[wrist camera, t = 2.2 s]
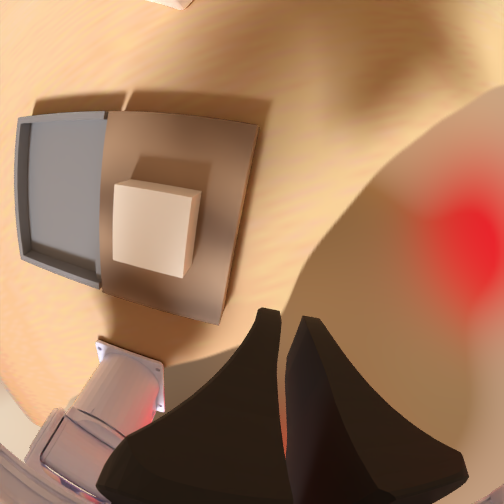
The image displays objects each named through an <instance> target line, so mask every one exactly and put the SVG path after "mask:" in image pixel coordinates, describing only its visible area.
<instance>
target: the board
mask: <svg viewBox="0 0 504 504" xmlns="http://www.w3.org/2000/svg"><path fill="white" fill-rule="evenodd" d="M258 132H259V126H258V125H254V124H248V123H242V122H237V121H230V120H224V119H217V118H209V117H201V116H193V115H183V114H172V113H158V112H139V111H109V113H108V119H107V126H106V133H105V140H104V149H103V158H102V170H101V184H100V209H99V241H100V265H101V280H102V292H103V293H106V294H109V295H112V296H115V297H118V298H121V299H125V300H128V301H131V302H134V303H137V304H141V305H144V306H147V307H151V308H154V309H158V310H161V311H165V312H168V313H172V314H175V315H179V316H183V317H187V318H190V319H194V320H198V321H202V322H206V323H210V324H215V325H219V324H220V320H221V317H222V314H223V311H224V306H225V300H226V295H227V289H228V284H229V278H230V273H231V267H232V262H233V257H234V251H235V246H236V241H237V236H238V231H239V225H240V220H241V215H242V210H243V205H244V200H245V195H246V190H247V185H248V180H249V175H250V170H251V165H252V160H253V156H254V151H255V146H256V141H257V136H258ZM129 179H132V180H139V181H146V182H152V183H158V184H164V185H170V186H176V187H181V188H187V189H193V190H198V191H202V193H201V199H200V206H199V213H198V220H197V227H196V235H195V242H194V250H193V259H192V265H191V267H190V268H189V270H188V271H187V273H186V274H185V276H184V277H183V278H179V277H175V276H171V275H167V274H163V273H159V272H155V271H152V270H148V269H144V268H140V267H137V266H133V265H129V264H126V263H122V262H118V261H115V260H113V201H114V185H115V184H117V183H120V182H123V181H126V180H129Z"/></svg>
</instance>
